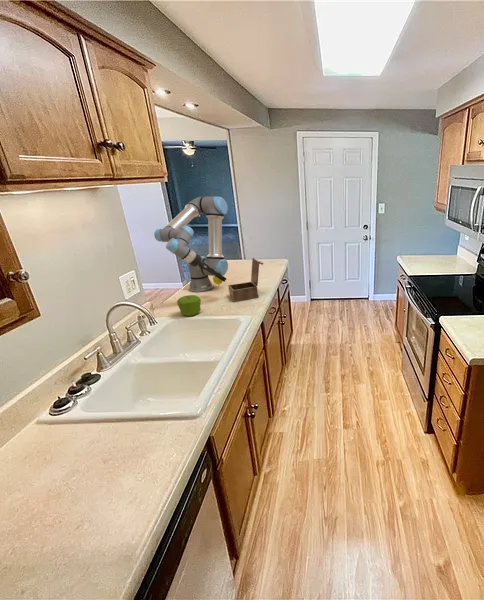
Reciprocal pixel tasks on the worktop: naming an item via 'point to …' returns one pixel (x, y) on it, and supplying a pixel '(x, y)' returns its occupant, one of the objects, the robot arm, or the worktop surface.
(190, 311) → the apple
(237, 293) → the chest
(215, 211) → the robot arm
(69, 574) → the worktop surface
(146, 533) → the worktop surface
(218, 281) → the lemon
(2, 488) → the worktop surface
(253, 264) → the lid
